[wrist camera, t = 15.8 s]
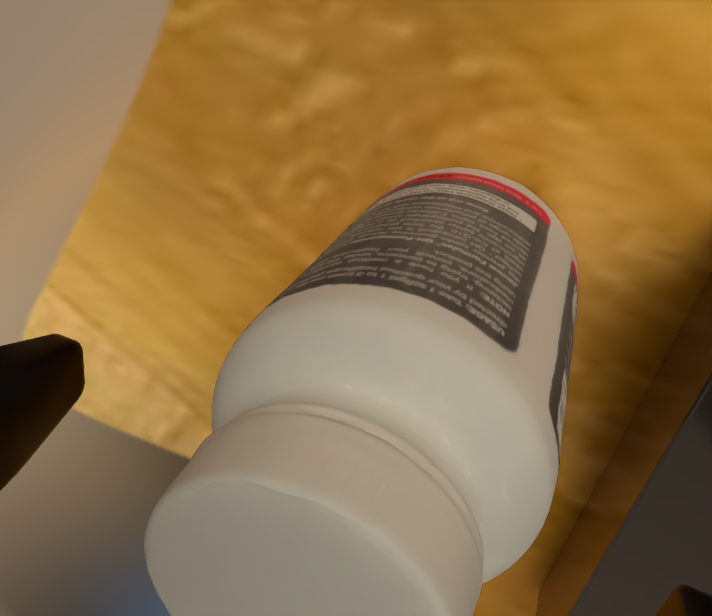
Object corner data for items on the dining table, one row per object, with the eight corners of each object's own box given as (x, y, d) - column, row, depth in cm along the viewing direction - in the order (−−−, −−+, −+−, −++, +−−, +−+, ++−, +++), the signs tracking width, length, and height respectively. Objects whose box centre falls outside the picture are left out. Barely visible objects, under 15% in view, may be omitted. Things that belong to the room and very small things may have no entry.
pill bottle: (317, 242, 16) (22, 511, 8) (488, 111, 13) (290, 330, 5) (442, 398, 17) (286, 781, 9) (629, 308, 14) (642, 752, 6)
